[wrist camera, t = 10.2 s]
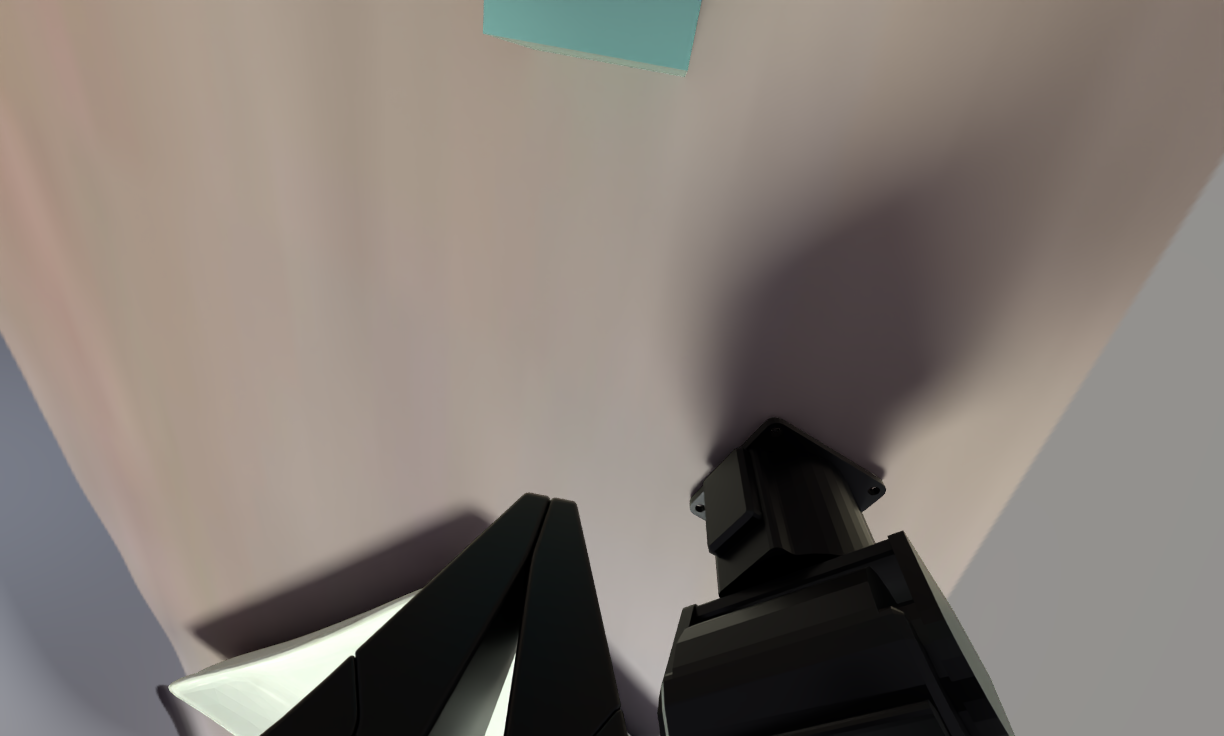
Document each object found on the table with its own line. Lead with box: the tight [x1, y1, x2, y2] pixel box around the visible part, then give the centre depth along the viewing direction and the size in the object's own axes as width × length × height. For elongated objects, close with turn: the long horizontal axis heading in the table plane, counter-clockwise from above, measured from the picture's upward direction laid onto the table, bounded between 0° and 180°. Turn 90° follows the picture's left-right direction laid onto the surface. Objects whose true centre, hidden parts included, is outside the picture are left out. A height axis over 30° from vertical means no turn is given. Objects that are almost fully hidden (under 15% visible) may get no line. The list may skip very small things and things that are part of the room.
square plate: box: [168, 588, 631, 736], centre depth 36 cm, size 27×27×4 cm
